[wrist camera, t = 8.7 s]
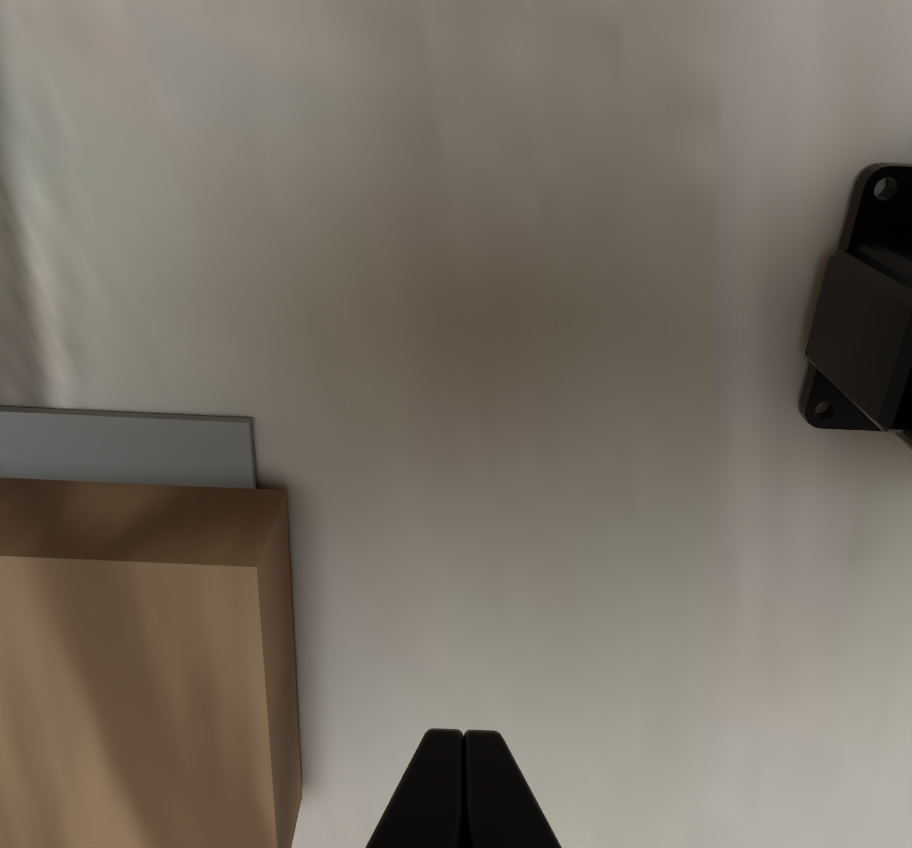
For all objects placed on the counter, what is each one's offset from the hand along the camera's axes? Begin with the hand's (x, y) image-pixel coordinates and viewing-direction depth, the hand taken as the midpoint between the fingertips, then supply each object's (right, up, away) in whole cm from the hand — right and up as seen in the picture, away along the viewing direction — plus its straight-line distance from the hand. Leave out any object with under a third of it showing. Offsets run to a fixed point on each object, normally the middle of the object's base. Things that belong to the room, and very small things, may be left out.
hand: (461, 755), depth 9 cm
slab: (-5, -4, +14) cm, 15 cm away
